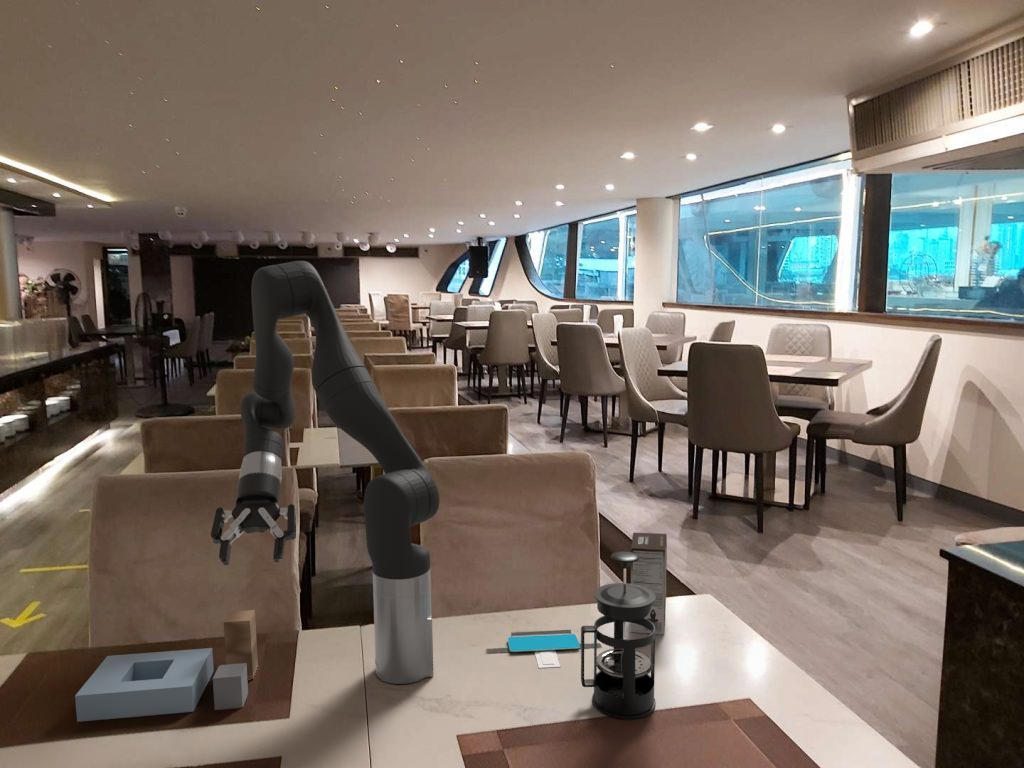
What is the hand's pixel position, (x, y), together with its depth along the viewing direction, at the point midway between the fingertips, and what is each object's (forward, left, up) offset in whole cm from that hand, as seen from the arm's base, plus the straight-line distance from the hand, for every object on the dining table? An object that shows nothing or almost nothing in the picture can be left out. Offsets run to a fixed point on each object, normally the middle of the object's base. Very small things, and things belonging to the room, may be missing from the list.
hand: (250, 562), depth 128 cm
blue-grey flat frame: (+13, +15, -15) cm, 25 cm away
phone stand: (-50, +11, -16) cm, 54 cm away
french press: (-58, +29, -15) cm, 66 cm away
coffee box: (-71, +4, -15) cm, 73 cm away
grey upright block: (0, +19, -15) cm, 24 cm away
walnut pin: (0, +11, -15) cm, 18 cm away
